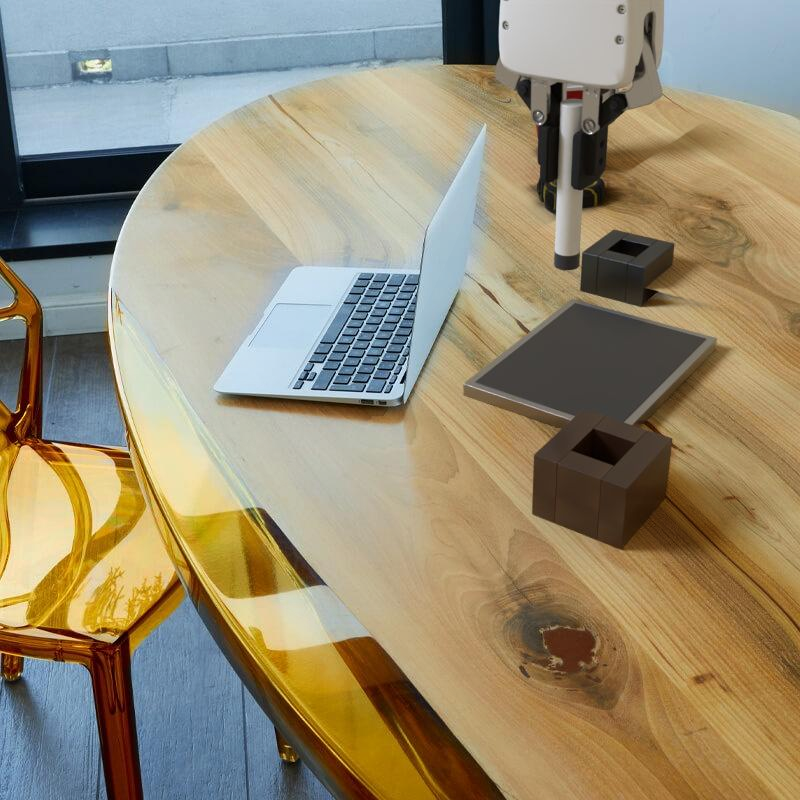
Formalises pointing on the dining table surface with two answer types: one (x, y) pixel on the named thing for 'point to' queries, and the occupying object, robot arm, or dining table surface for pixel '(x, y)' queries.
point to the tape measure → (590, 194)
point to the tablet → (591, 366)
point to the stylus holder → (625, 266)
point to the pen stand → (601, 477)
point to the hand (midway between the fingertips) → (570, 178)
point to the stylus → (568, 191)
